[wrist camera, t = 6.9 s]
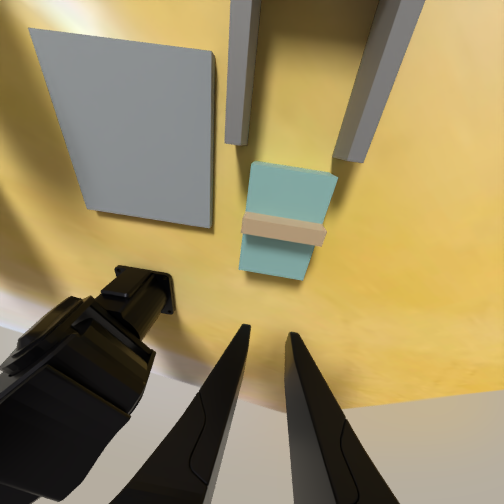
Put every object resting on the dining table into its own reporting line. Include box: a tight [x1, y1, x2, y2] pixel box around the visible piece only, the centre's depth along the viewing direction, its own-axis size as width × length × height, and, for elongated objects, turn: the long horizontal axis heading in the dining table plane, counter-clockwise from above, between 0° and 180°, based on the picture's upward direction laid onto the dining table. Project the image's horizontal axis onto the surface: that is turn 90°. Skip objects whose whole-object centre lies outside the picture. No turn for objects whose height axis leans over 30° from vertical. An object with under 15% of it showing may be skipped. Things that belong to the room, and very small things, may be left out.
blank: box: [239, 161, 338, 281], centre depth 16 cm, size 9×6×4 cm, turn 171°
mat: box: [28, 28, 215, 228], centre depth 15 cm, size 12×12×1 cm
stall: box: [225, 0, 425, 163], centre depth 11 cm, size 11×9×4 cm
